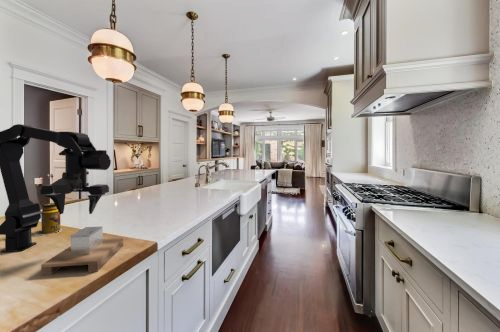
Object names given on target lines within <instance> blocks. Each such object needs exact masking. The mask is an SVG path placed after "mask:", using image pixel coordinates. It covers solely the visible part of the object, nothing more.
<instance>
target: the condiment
mask: <svg viewBox="0 0 500 332" xmlns="http://www.w3.org/2000/svg"><path fill="white" fill-rule="evenodd" d="M41 207H42V210H41V212H42V214H41V219H40V220H41V230H35V231H34V237H39V236H44V235H53V234H56V233H55V232H57V233H62V232H63V229H62V227H61V214H60V213H59V211H58V209H57V207H56V205H55V203H54V202H50V203H44V204H42V205H41ZM60 229H61V230H60ZM58 231H59V232H58ZM50 233H51V234H50Z"/></svg>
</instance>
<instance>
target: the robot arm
mask: <svg viewBox="0 0 500 332" xmlns="http://www.w3.org/2000/svg"><path fill="white" fill-rule="evenodd" d="M31 139H34V140H35V139H36V140H40V141H45V142H51V143H54V144H56V145H57V146H59V147H62V148H64V149H63V150H62V151H60V152H59V153H58V155H59V156H65V159H64V160H65V168H64V169H65V171H64V172H62V174H61V178H59V179H57V180H56V181H54V182H52V183H49V184H44V185H42V186H41V187H40V189H39V194H40V195H44V197H45V198H46V197H47V198H49V199H50V200H51V201H52V203H55V205H56V207H57V209H58V211H59V213H60V215H63V214H64V210H65V205H66V195H69V194H71V193H75V192H76V193H81V192H82V193H88V195H87V198H88V200H89V201H88V202H89V204H88V213H89V215H92V214H93V213H94V211H95V209H96V207H97V204H98V203H99V201H100V199H101V198H102V196H104V195H106V193H109V192H110V186H109V185H108V184H99V183H97V184H93V185H90V183H89V182H87V180H88V179H87V175H89V173H90V171H88V170H96V171H97V170H98V171H107V170H108V169H109V168H110V167H111V163H112V160H111V158H110V155H108V154H107V150H106V149H105V150H104V149H103V150H102V149H98V150H97V148H96V147H95V145H94V144H93V142H92V141H91V140H90V137H89V135H88V134H86V133H82V132H74V131H56V130H50V129H44V128H41V127H34V126H32V125H27V124H21V123H19V124H18V123H17V124H14V125H12V126H11V127H9V128H7V129H3V130H0V174H1V178H2V181H3V185H4V189H5V193H6V196H7V201H8V206H7V208H6V210H5V212H4V221H3V222H2V223H1V224H0V235H1V236H5V239H4V246H5V247H4V248H3V249H1V250H0V253H4V252H5V253H7V252H22V251H25V250H26V249H29V248H31V247H33V246H36V245H37V242H36V241H35V242H32V240H33V239H32V237H33V236H32V229H33V228H37V227H38V225H39V222H40V220H41V214H42V210H41V206H40V204H39V202H37V203H35V202H33V201H31V199H30V196H29V193H28V188H27V185H26V180H25V176H24V172H23V169H22V165H21V158H22V157H23V154H24V148H25V147H26V146H27V145H29V143H30V140H31ZM89 185H90V186H89Z"/></svg>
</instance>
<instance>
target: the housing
mask: <svg viewBox="0 0 500 332" xmlns="http://www.w3.org/2000/svg"><path fill="white" fill-rule="evenodd" d="M103 231H104V230H103V226H85V227H84V228H82V229H81V230H78V231H76V232H74V233H73V234H71V235H70V246H71V255H88V254H91V253H92V252H93V251H95V250H96V249H97V248H98V247H100V246H101V245H102V244H103V239H104V236H103V235H104V234H103Z"/></svg>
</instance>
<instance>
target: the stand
mask: <svg viewBox="0 0 500 332" xmlns="http://www.w3.org/2000/svg"><path fill="white" fill-rule="evenodd" d="M123 247H124V237H116V238H115V237H112V238H110V237H109V238H103V244H102V245H101V246H100V247H98V248H97V249H96V250H95V251H93V252H92V253H91V254H88V255H71V245H70V246H69V247H66V248H65V249H64V250H63V251H61V252H59V253H57V254H56V255H55V256H52V257H51V258H49V259H48V260H46V261H45V262H43V263H42V264H41V265H40V267H41V269H40V271H41V272H40V273H41V276H52V275H53V274H54V273H56V272H58V271H59V270H60V269H61V268H62V267H69V266H70V267H71V266H87V265H88V267H87V268H88V273H92V272H93V273H94V272H99V271H100V270H101V269H102V268H103V267H104V266H105V265H106V264H107V263H108V262H109V261H110V260H111V259H112V258H113V257H114V256H115V255H116V254H117V253H118V252H119V251H120V250H121V249H122V248H123Z"/></svg>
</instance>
